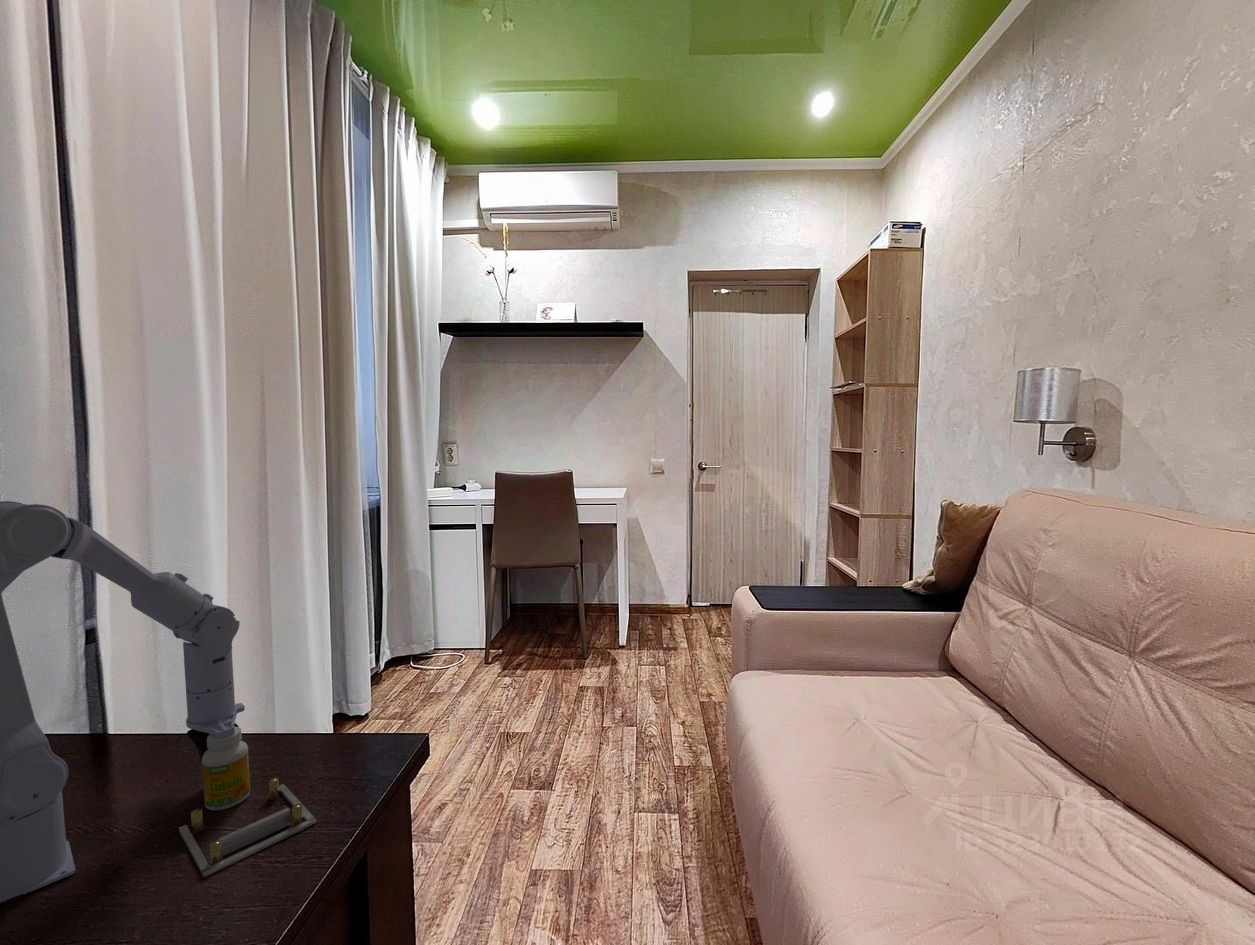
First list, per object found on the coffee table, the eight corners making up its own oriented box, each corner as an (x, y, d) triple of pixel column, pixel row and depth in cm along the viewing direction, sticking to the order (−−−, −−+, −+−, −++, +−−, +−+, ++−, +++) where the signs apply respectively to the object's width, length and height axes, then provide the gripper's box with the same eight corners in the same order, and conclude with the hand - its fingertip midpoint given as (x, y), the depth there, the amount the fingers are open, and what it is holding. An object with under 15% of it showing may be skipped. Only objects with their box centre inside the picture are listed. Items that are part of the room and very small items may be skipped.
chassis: (203, 877, 68) (202, 857, 67) (179, 831, 76) (177, 813, 75) (316, 823, 77) (315, 805, 77) (283, 787, 85) (282, 770, 85)
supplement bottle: (206, 817, 78) (201, 747, 78) (203, 798, 83) (199, 732, 82) (253, 800, 82) (249, 734, 81) (248, 783, 86) (244, 720, 85)
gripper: (257, 689, 83) (262, 780, 84) (227, 664, 93) (232, 746, 94) (197, 707, 78) (204, 803, 79) (172, 678, 88) (178, 765, 89)
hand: (215, 774), depth 86 cm, fingers closed
